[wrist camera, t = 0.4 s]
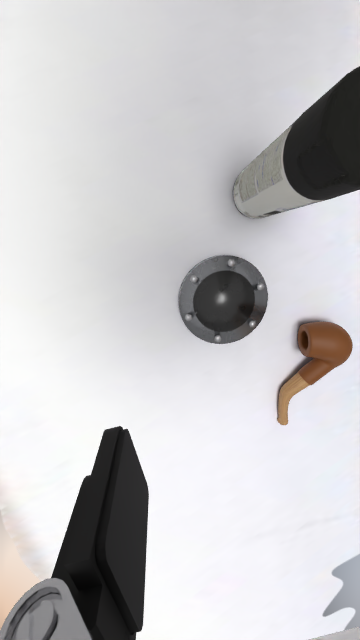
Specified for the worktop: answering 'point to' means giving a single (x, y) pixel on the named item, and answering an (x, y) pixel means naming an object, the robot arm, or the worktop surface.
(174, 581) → the worktop surface
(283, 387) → the pipe
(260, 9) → the worktop surface
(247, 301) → the flange
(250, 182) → the spray can
